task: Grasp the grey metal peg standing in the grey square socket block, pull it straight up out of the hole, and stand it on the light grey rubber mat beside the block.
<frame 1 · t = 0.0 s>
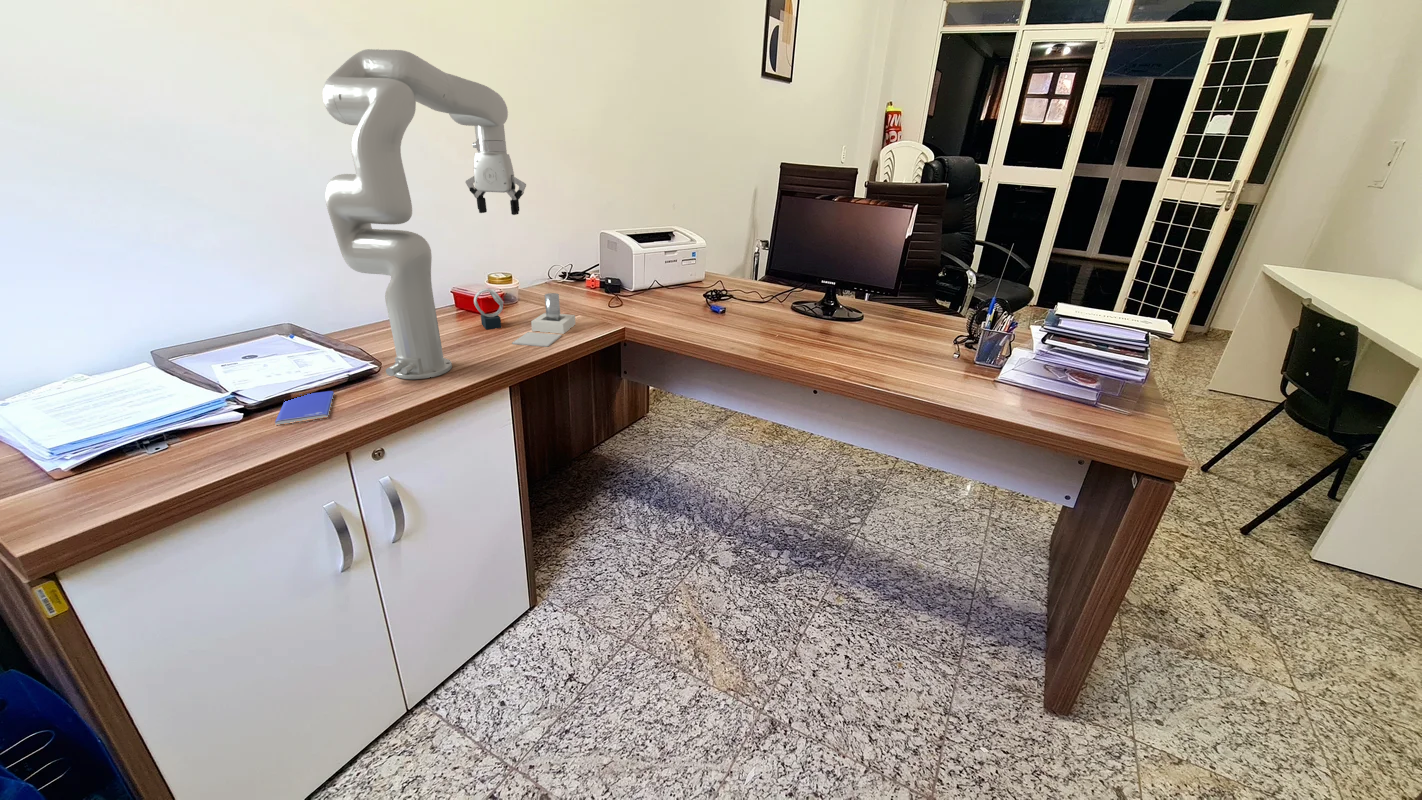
hand: (499, 213, 158), 31 cm above the table, tool pointing down, fingers open, 9 cm apart
mat: (537, 339, 154), on the table
watch: (492, 326, 164), on the table
blue book: (308, 412, 109), on the table
grey square socket block: (554, 327, 164), on the table
peg: (553, 311, 162), in the grey square socket block
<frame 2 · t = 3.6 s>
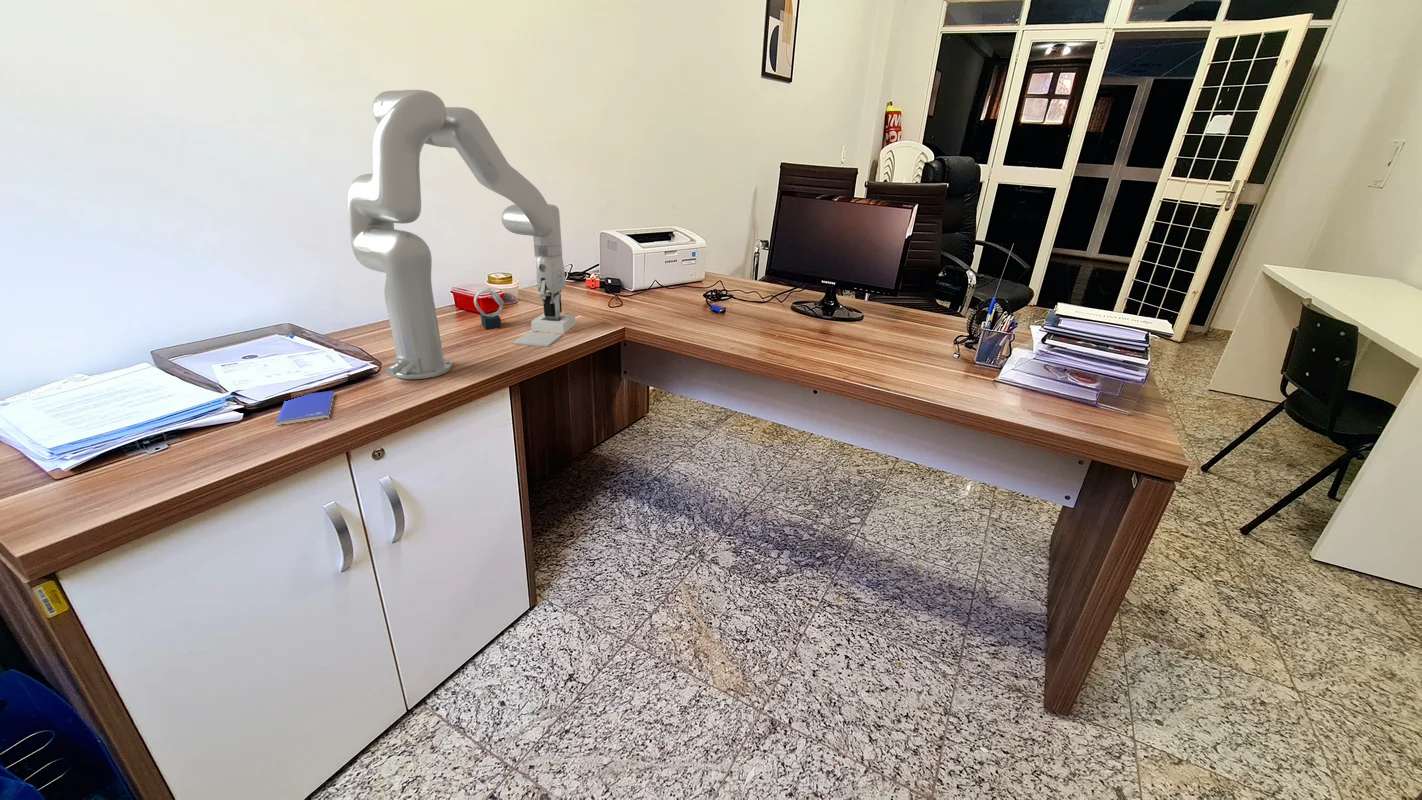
hand: (553, 313, 163), 4 cm above the table, tool pointing down, fingers closed on peg, 4 cm apart
peg: (553, 311, 162), in the grey square socket block, touching gripper
everything else where it was.
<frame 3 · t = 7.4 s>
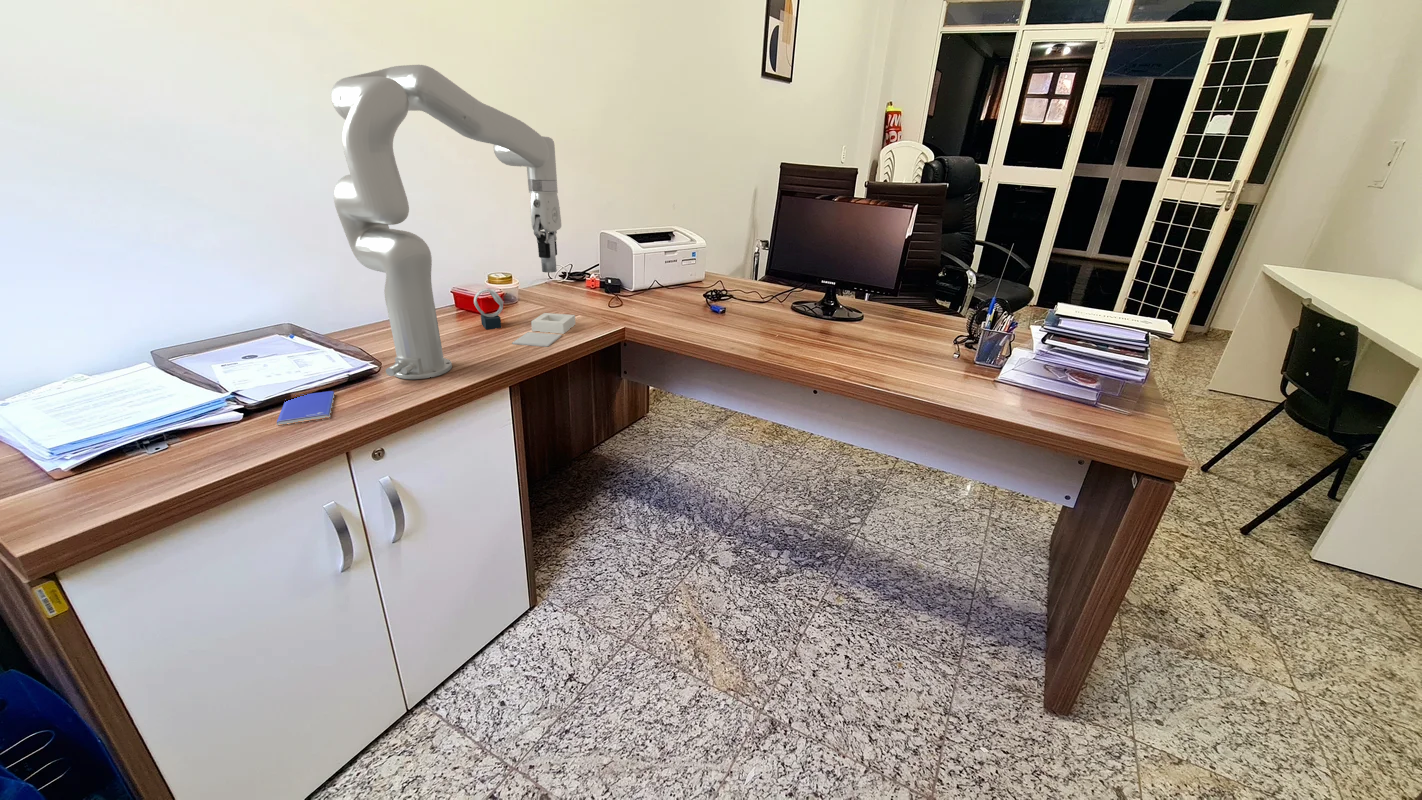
hand: (548, 255, 156), 21 cm above the table, tool pointing down, fingers closed on peg, 4 cm apart
peg: (548, 253, 155), point 22 cm above the table, touching gripper
everything else where it was.
when the fingers open (6 cm above the table, at t = 11.5 s): peg drops 1 cm, resting on mat.
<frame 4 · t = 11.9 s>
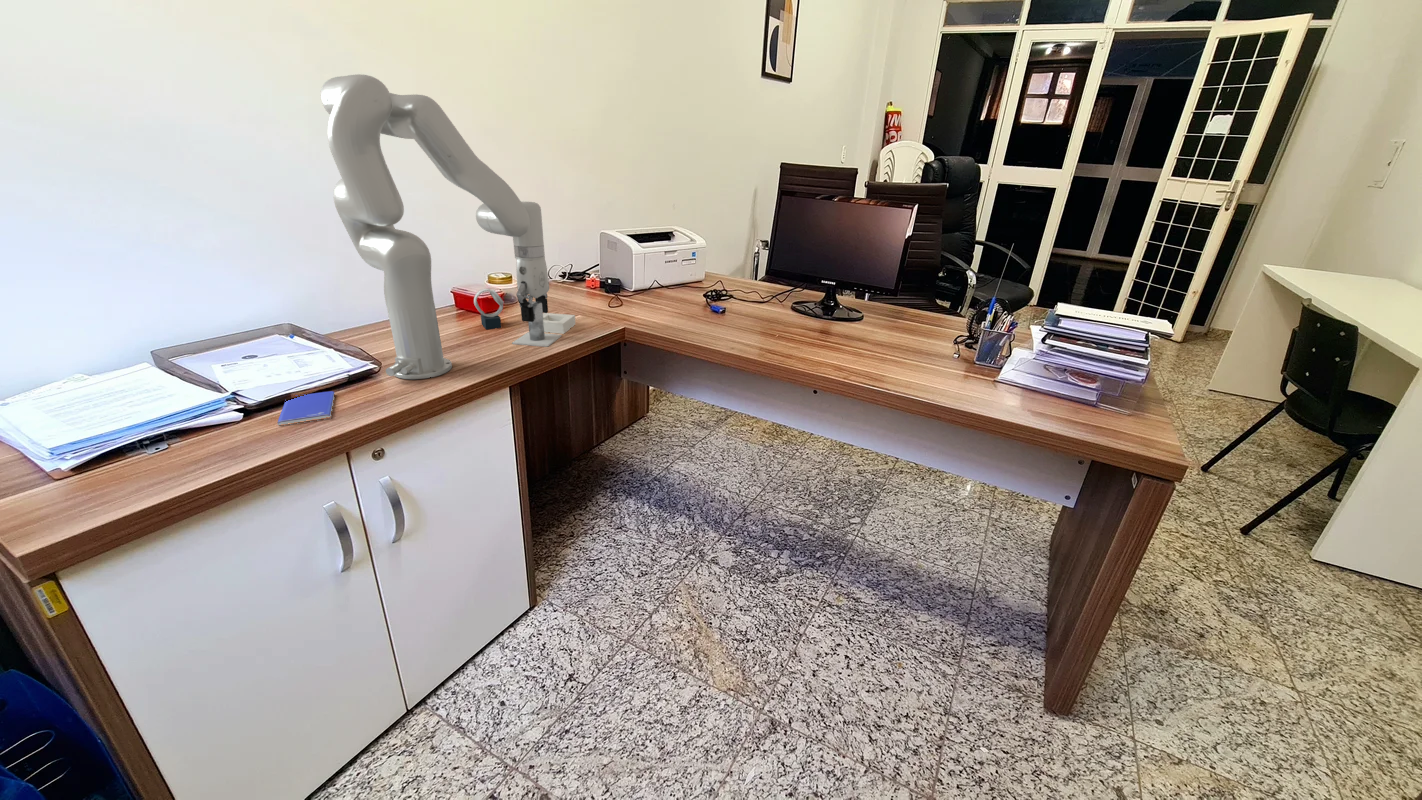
hand: (535, 316, 151), 7 cm above the table, tool pointing down, fingers open, 8 cm apart
peg: (535, 321, 151), on the mat
everything else where it was.
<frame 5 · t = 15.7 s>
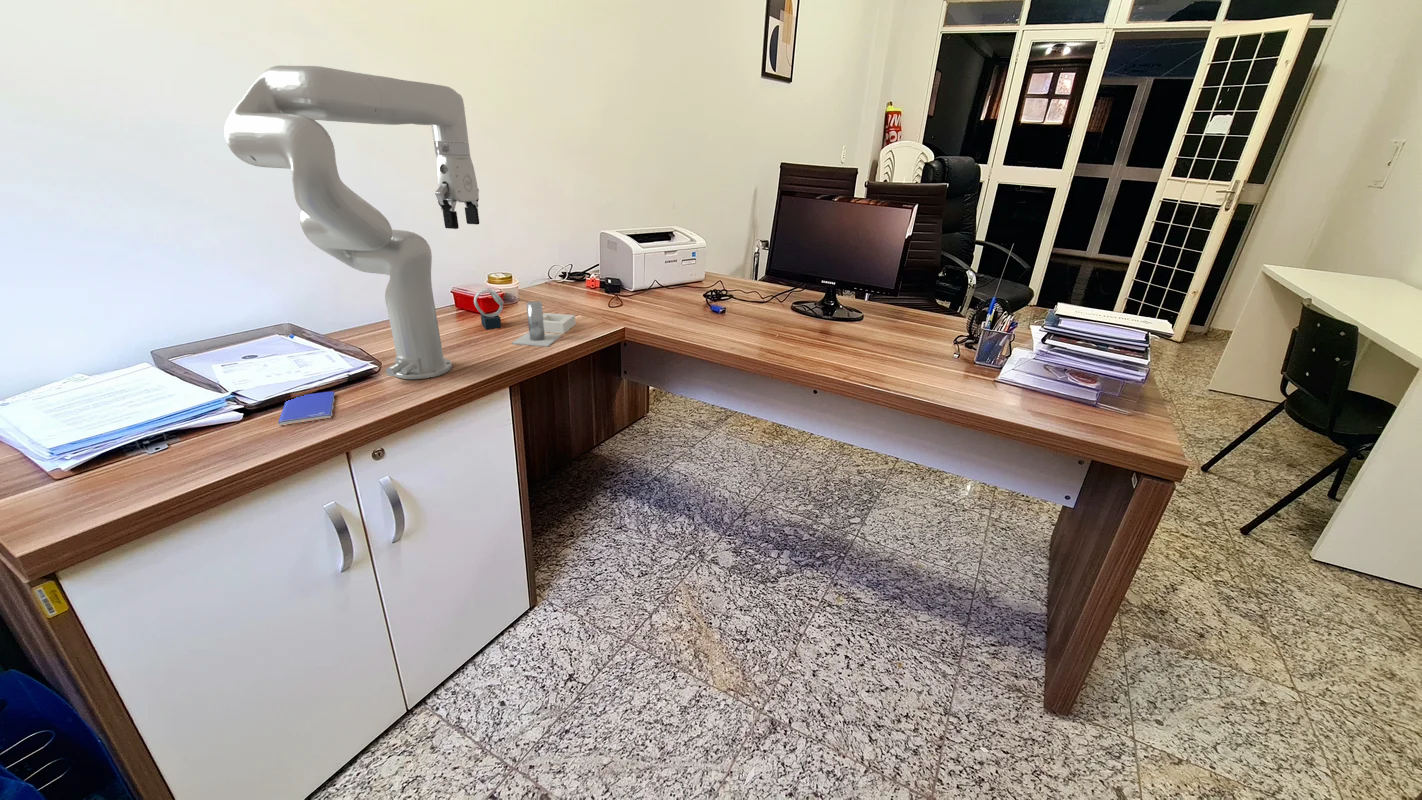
hand: (462, 226, 137), 30 cm above the table, tool pointing down, fingers open, 9 cm apart
nothing on the table moved.
at the end: peg inside the target area (0.0 cm from its centre), resting on mat; peg tilted 0°; the gripper is holding nothing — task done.
